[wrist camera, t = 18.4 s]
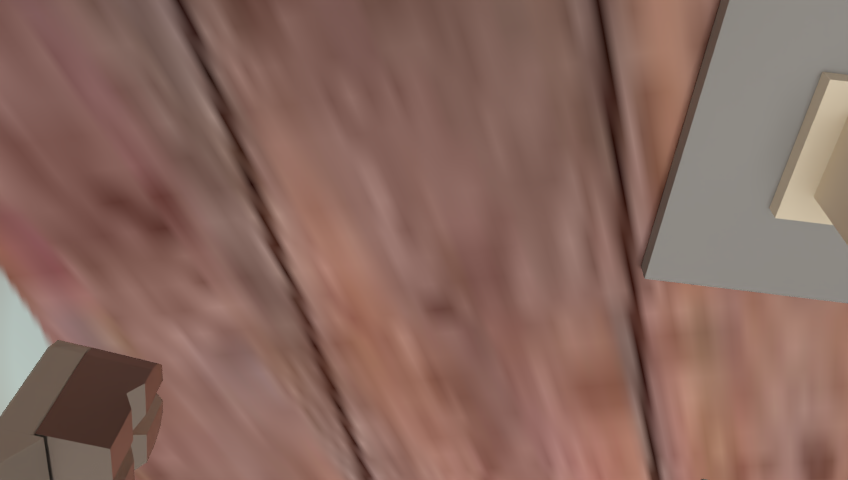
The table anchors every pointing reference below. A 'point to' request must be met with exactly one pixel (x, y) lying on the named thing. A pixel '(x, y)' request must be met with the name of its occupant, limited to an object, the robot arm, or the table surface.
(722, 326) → the table surface
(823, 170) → the collar
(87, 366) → the robot arm
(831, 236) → the post plate
